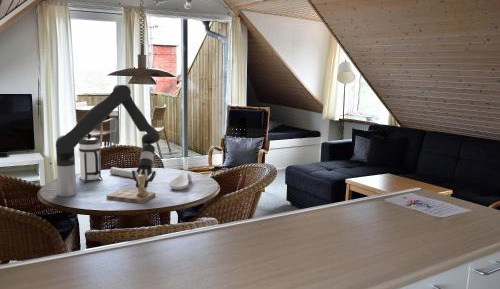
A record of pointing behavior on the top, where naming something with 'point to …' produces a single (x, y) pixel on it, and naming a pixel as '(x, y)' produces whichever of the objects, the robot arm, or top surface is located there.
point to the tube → (122, 172)
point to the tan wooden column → (141, 185)
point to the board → (130, 196)
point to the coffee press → (90, 158)
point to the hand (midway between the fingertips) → (141, 187)
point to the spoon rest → (180, 181)
